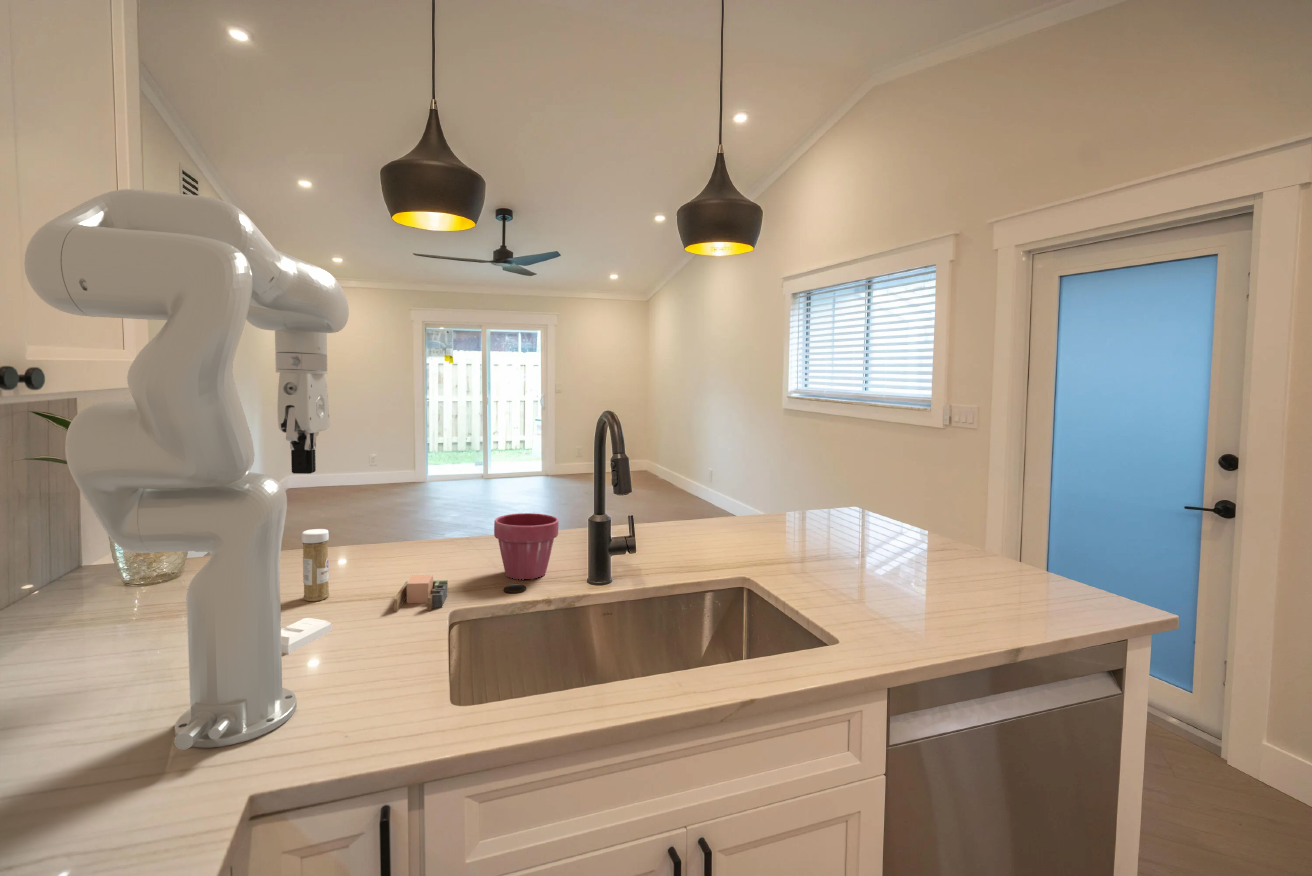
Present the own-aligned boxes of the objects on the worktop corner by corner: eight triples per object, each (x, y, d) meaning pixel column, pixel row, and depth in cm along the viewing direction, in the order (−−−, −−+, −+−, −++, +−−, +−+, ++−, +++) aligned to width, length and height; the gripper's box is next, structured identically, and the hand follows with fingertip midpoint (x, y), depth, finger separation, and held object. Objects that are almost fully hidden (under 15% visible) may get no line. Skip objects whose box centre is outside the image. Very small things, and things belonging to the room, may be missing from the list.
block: (428, 602, 118) (428, 583, 117) (406, 603, 117) (406, 583, 117) (433, 594, 123) (433, 575, 122) (412, 594, 122) (412, 575, 122)
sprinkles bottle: (330, 599, 117) (329, 532, 116) (303, 603, 115) (302, 534, 114) (328, 592, 121) (327, 527, 120) (302, 596, 119) (300, 529, 117)
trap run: (440, 610, 114) (440, 597, 113) (393, 612, 112) (393, 599, 112) (449, 591, 124) (449, 580, 124) (406, 593, 122) (406, 581, 122)
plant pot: (543, 561, 147) (544, 510, 146) (567, 578, 135) (568, 522, 134) (485, 569, 139) (485, 515, 138) (506, 588, 127) (506, 528, 126)
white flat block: (331, 633, 103) (331, 618, 103) (288, 656, 94) (288, 639, 94) (307, 630, 104) (307, 615, 104) (262, 651, 95) (262, 635, 95)
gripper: (308, 364, 94) (310, 480, 96) (341, 366, 109) (342, 467, 110) (256, 362, 93) (258, 479, 94) (295, 365, 107) (297, 466, 109)
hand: (303, 472), depth 102 cm, fingers closed
